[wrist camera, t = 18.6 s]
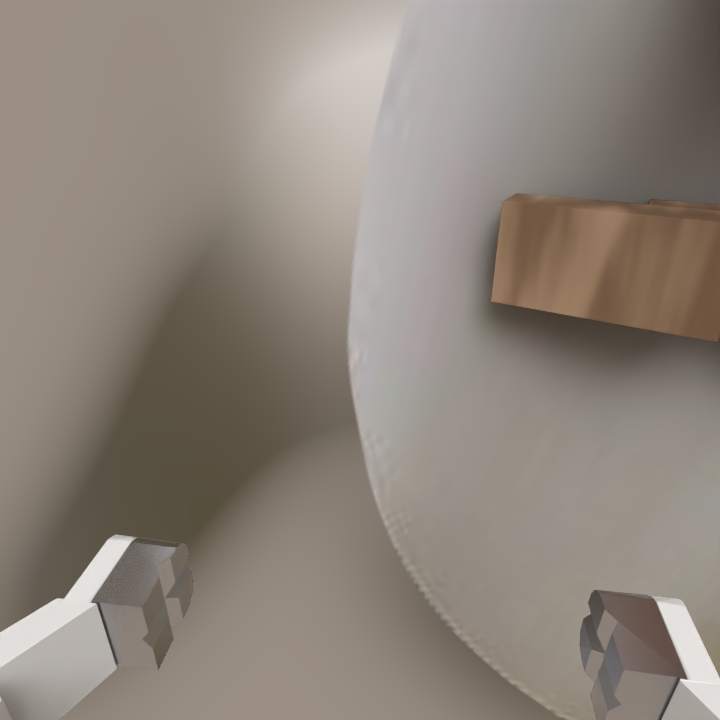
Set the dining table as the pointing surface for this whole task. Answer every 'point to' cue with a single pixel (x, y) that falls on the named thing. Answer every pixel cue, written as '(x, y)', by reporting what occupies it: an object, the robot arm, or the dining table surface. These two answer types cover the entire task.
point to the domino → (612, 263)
